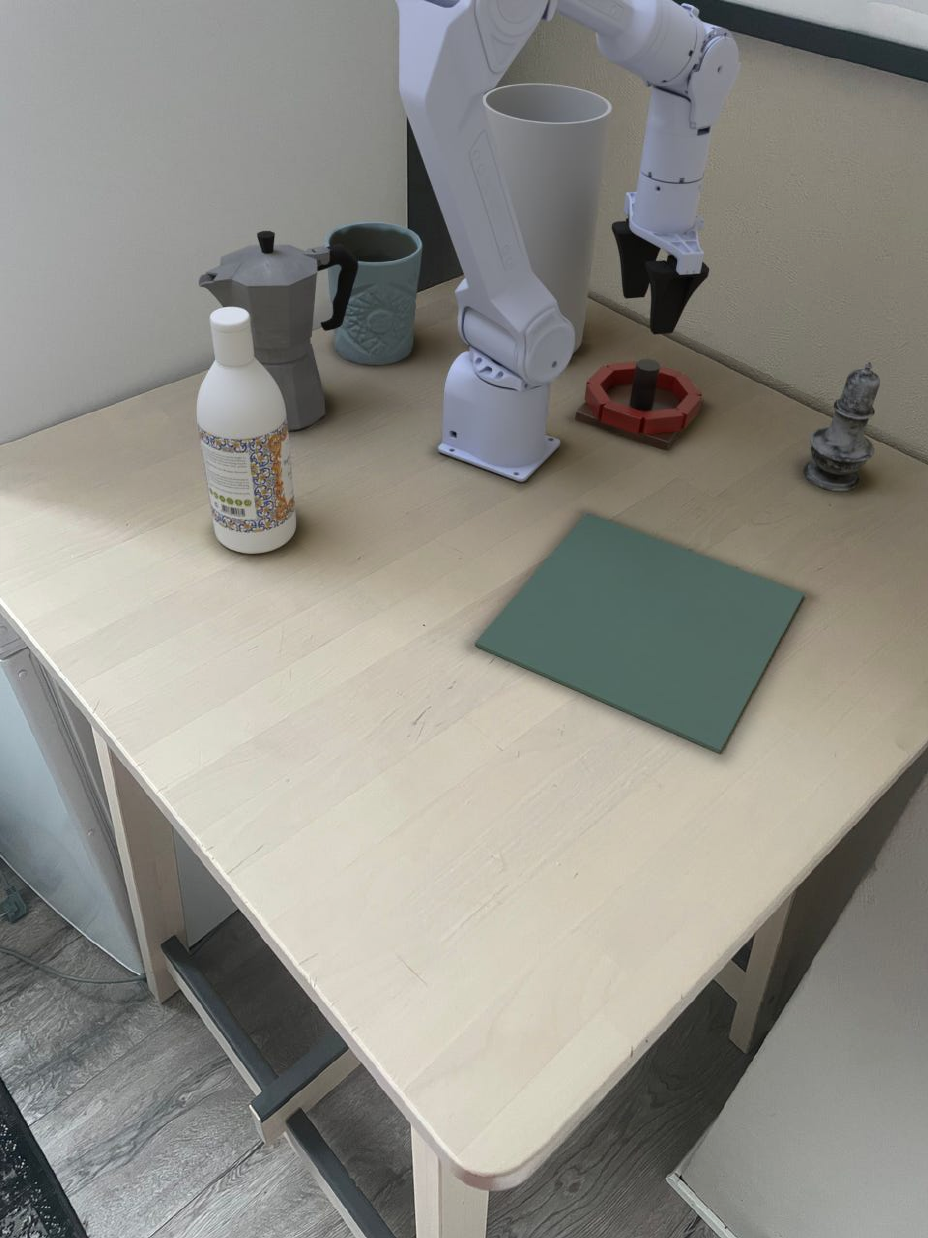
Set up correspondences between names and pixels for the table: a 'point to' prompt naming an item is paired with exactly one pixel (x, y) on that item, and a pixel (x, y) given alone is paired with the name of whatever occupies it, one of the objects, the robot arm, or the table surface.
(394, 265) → the teal embossed mug
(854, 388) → the salt shaker
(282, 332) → the coffeepot
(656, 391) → the ring holder
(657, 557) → the mat
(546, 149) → the cylinder vase
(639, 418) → the ring
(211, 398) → the bath foam
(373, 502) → the table surface
